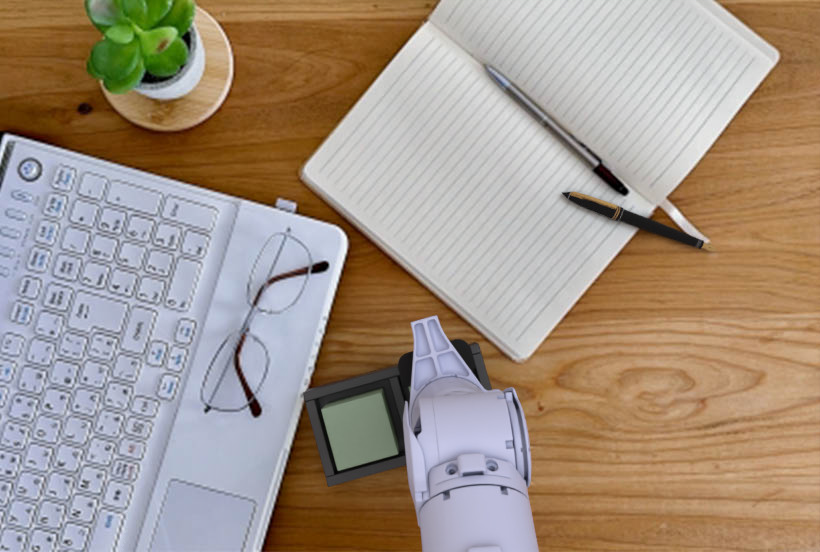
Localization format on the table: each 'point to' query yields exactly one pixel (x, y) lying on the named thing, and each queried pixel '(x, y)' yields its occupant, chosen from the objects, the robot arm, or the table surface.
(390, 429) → the two-compartment tray
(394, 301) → the table surface
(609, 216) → the fountain pen
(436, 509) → the robot arm
